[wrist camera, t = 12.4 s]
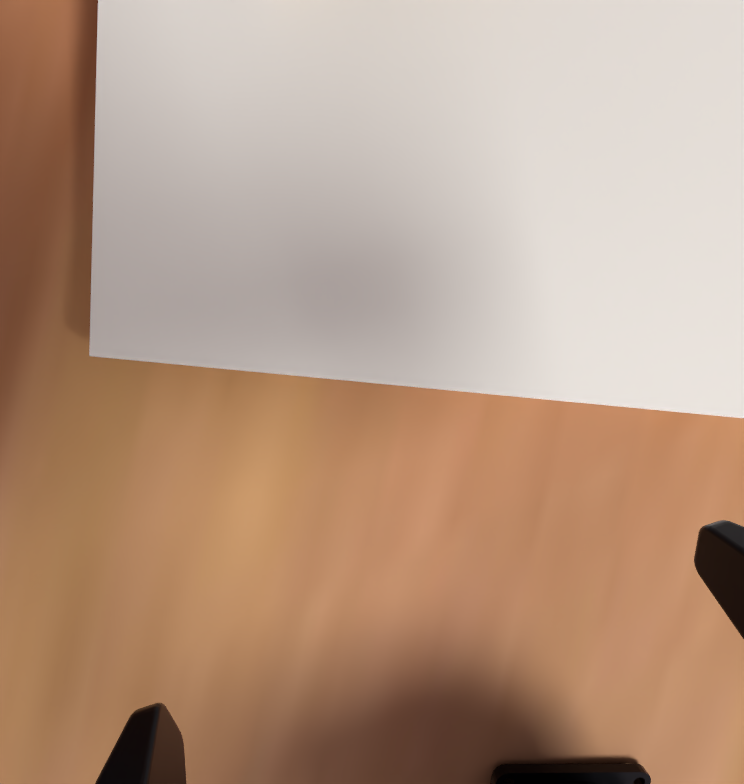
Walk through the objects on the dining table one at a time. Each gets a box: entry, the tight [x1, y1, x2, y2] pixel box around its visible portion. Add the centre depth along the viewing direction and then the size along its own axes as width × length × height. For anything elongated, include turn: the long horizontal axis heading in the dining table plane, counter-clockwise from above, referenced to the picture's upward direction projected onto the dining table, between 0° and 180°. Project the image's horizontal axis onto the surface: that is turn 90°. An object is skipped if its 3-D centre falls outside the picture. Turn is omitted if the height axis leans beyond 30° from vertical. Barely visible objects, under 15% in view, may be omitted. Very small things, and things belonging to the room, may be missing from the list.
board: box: [89, 0, 744, 418], centre depth 17 cm, size 24×20×2 cm
